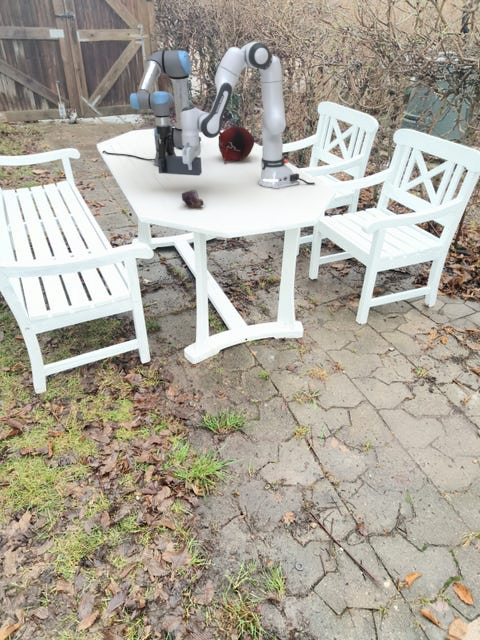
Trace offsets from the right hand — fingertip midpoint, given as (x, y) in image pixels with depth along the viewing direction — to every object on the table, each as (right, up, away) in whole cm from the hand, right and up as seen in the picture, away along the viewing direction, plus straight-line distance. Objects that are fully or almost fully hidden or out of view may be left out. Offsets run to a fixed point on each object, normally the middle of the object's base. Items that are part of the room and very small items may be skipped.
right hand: (192, 168), depth 241 cm
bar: (-7, -2, +3) cm, 8 cm away
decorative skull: (+23, +27, +62) cm, 71 cm away
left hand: (-14, 0, +4) cm, 14 cm away
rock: (+1, -23, -11) cm, 26 cm away
